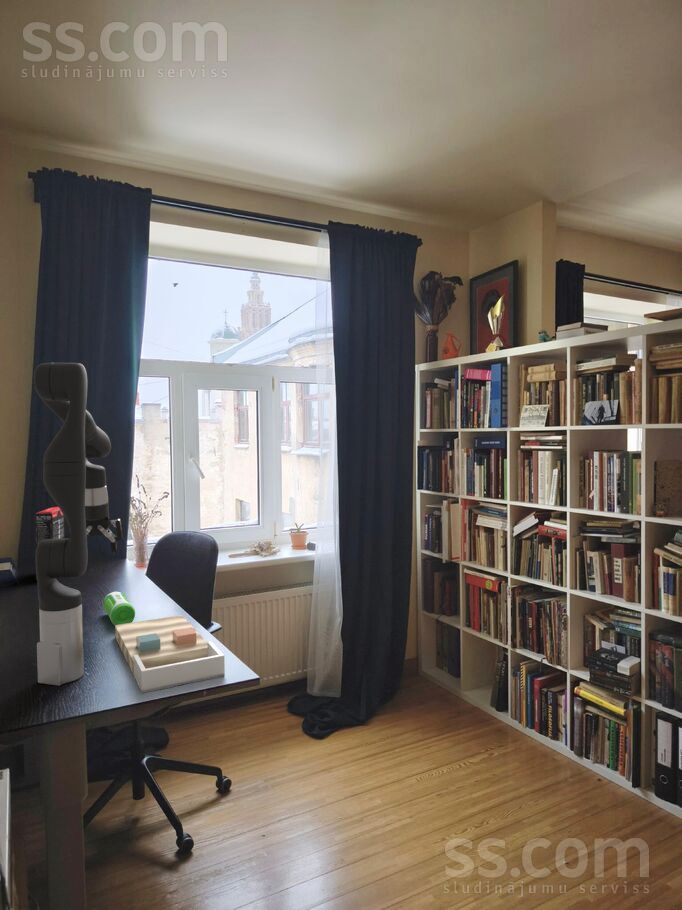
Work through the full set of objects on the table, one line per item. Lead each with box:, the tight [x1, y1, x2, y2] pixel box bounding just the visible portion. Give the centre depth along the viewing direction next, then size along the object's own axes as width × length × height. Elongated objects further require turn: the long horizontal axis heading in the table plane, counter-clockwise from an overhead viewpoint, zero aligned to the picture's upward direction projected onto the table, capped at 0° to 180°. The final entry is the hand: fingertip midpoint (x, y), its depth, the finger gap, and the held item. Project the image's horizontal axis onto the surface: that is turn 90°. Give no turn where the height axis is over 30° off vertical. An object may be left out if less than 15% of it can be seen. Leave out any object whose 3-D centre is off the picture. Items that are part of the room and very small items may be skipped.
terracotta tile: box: [173, 627, 197, 646], centre depth 156 cm, size 5×5×2 cm
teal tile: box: [136, 633, 161, 652], centre depth 151 cm, size 5×5×2 cm
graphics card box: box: [35, 506, 65, 581], centre depth 240 cm, size 17×7×27 cm, turn 10°
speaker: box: [102, 591, 136, 626], centre depth 184 cm, size 18×7×8 cm, turn 30°
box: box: [133, 640, 226, 694], centre depth 142 cm, size 11×19×5 cm, turn 119°
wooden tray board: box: [114, 614, 208, 676], centre depth 160 cm, size 30×19×4 cm, turn 29°
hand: (97, 554), depth 176 cm, fingers open, 8 cm apart
